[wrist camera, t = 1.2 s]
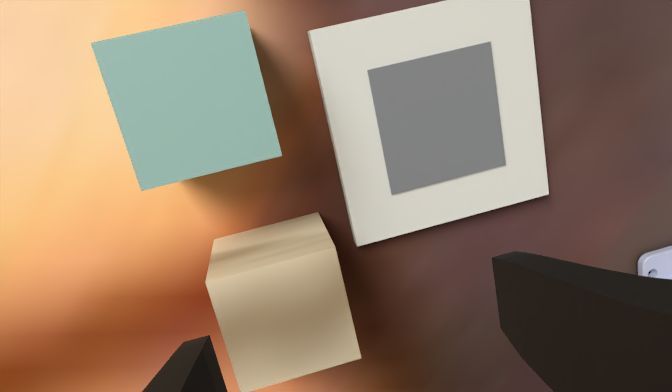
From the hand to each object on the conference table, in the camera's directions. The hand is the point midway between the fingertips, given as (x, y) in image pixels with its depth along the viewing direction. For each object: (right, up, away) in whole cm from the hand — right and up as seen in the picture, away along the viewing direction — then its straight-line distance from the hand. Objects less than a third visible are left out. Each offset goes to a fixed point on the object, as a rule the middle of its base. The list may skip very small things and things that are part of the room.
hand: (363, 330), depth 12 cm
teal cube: (-6, +7, +7) cm, 12 cm away
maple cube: (-3, 0, +10) cm, 10 cm away
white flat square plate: (+3, +7, +9) cm, 12 cm away
